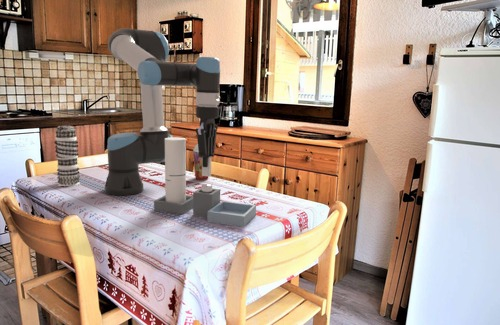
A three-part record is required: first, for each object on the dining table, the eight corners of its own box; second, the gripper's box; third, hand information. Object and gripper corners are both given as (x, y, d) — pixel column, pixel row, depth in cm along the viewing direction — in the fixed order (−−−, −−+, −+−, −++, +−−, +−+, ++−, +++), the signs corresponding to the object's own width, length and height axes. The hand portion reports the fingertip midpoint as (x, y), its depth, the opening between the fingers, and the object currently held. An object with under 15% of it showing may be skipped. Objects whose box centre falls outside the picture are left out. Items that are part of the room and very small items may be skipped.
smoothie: (213, 177, 186) (214, 136, 182) (206, 181, 178) (206, 138, 174) (198, 176, 188) (198, 135, 184) (189, 179, 181) (189, 137, 177)
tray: (207, 221, 126) (207, 211, 125) (221, 210, 138) (222, 200, 137) (244, 227, 122) (244, 216, 122) (255, 214, 134) (256, 205, 133)
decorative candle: (56, 188, 160) (52, 127, 155) (57, 182, 168) (53, 125, 163) (80, 186, 164) (77, 127, 159) (80, 181, 172) (77, 124, 167)
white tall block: (181, 211, 135) (181, 140, 130) (162, 210, 136) (161, 139, 131) (188, 205, 142) (188, 138, 137) (170, 204, 143) (169, 136, 138)
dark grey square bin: (154, 210, 135) (153, 200, 135) (169, 202, 146) (169, 193, 145) (182, 214, 132) (182, 204, 132) (196, 205, 142) (196, 196, 142)
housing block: (193, 214, 132) (193, 192, 131) (201, 209, 139) (201, 187, 137) (212, 217, 130) (212, 194, 128) (219, 211, 137) (220, 189, 135)
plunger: (199, 197, 132) (199, 185, 131) (204, 194, 135) (204, 183, 135) (209, 198, 131) (209, 186, 130) (213, 195, 134) (213, 184, 134)
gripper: (210, 107, 120) (208, 181, 125) (225, 105, 132) (223, 172, 137) (188, 106, 122) (187, 178, 127) (205, 104, 134) (204, 170, 139)
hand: (206, 175), depth 132 cm, fingers closed
